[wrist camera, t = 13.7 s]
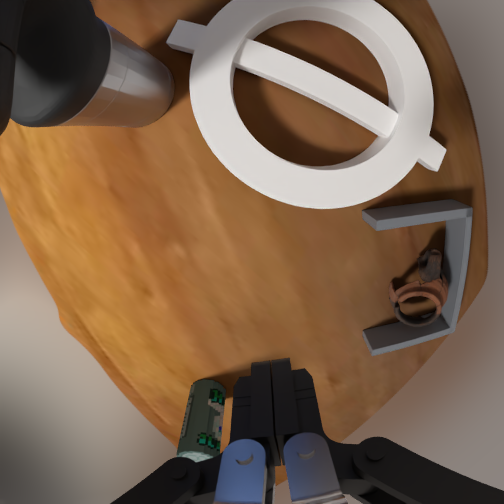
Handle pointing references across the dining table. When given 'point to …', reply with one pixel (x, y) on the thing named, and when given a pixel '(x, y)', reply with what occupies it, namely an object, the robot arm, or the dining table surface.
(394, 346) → the box
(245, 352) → the dining table surface
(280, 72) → the white circle with bar
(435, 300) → the pottery mug
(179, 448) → the can
